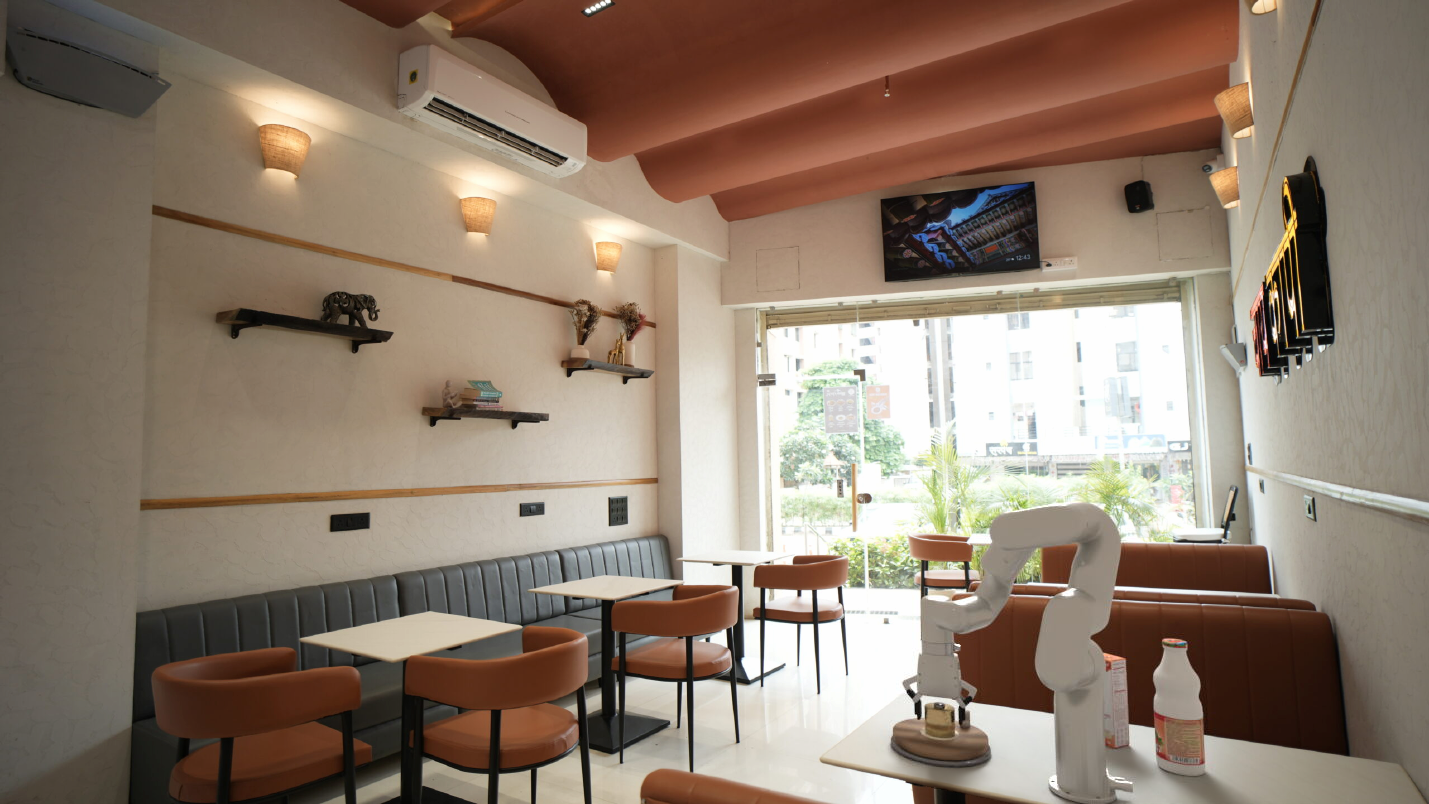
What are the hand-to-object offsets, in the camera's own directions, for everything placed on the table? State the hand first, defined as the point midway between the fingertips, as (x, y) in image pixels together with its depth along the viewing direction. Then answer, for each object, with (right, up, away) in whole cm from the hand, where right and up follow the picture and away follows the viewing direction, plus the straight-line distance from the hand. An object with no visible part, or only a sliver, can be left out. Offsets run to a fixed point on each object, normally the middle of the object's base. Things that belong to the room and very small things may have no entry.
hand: (940, 720), depth 179 cm
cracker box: (+41, -7, +6) cm, 42 cm away
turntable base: (0, -6, 0) cm, 6 cm away
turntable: (0, -5, 0) cm, 5 cm away
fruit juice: (+50, -6, -12) cm, 52 cm away
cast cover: (0, -3, 0) cm, 3 cm away
